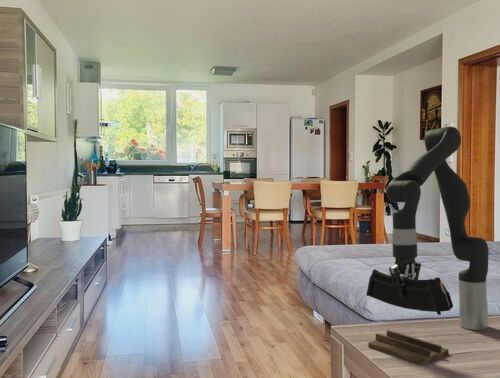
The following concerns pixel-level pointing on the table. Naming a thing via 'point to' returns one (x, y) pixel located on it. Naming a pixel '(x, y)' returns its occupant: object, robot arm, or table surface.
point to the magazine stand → (408, 347)
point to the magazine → (410, 293)
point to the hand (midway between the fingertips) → (406, 295)
